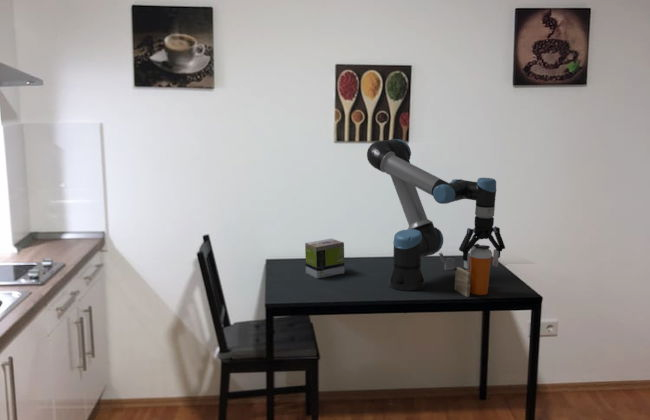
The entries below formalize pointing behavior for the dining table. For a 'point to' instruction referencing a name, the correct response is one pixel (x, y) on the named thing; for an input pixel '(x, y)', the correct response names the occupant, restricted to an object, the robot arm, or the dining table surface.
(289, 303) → the dining table surface
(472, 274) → the shaker bottle
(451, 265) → the lighter
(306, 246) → the tea box
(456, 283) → the bookend
